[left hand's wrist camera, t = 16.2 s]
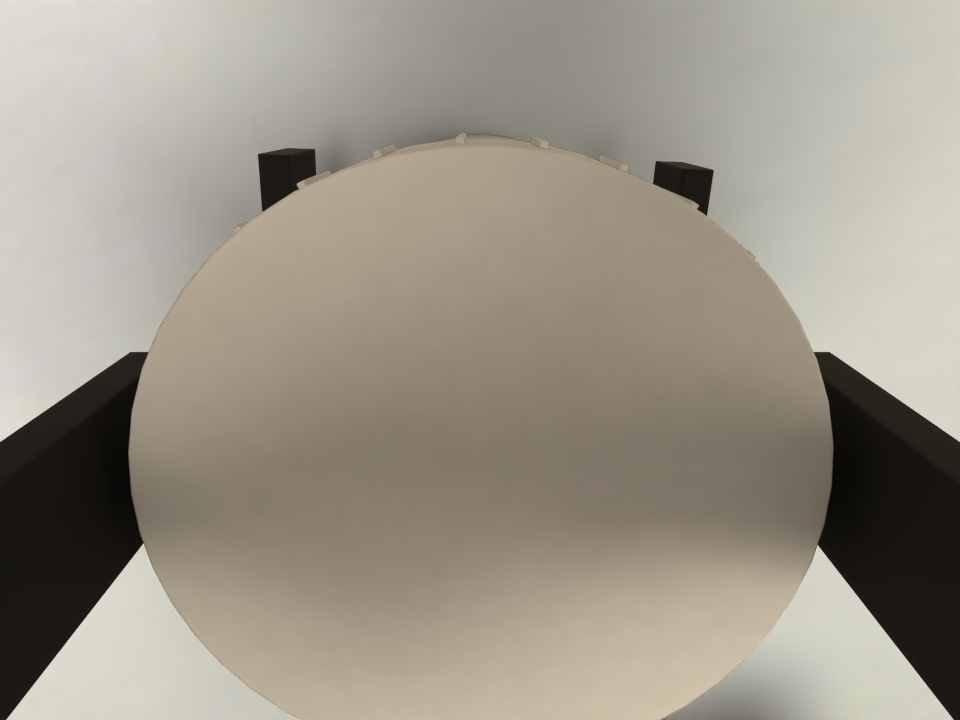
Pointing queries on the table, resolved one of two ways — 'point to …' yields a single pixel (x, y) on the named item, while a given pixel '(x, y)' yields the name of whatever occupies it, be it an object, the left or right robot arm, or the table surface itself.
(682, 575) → the lid
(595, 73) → the table surface
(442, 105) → the table surface
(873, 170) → the table surface
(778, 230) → the table surface
